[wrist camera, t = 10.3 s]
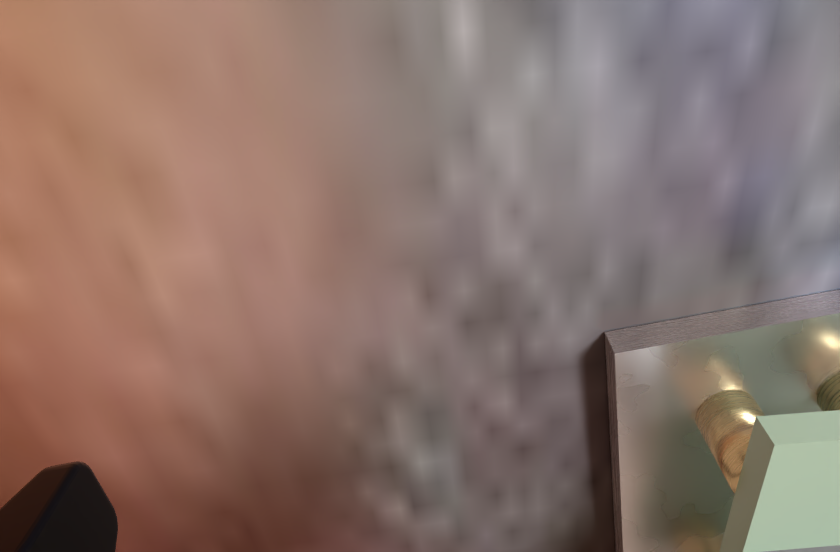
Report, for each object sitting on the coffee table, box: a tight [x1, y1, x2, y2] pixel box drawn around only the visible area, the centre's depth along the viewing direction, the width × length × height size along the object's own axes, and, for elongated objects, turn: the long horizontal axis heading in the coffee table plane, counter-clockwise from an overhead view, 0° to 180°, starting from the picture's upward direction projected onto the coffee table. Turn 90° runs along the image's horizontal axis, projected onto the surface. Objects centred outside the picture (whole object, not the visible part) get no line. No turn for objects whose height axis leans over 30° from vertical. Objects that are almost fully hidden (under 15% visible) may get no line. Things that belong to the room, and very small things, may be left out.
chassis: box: [605, 289, 840, 552], centre depth 24 cm, size 14×10×4 cm
